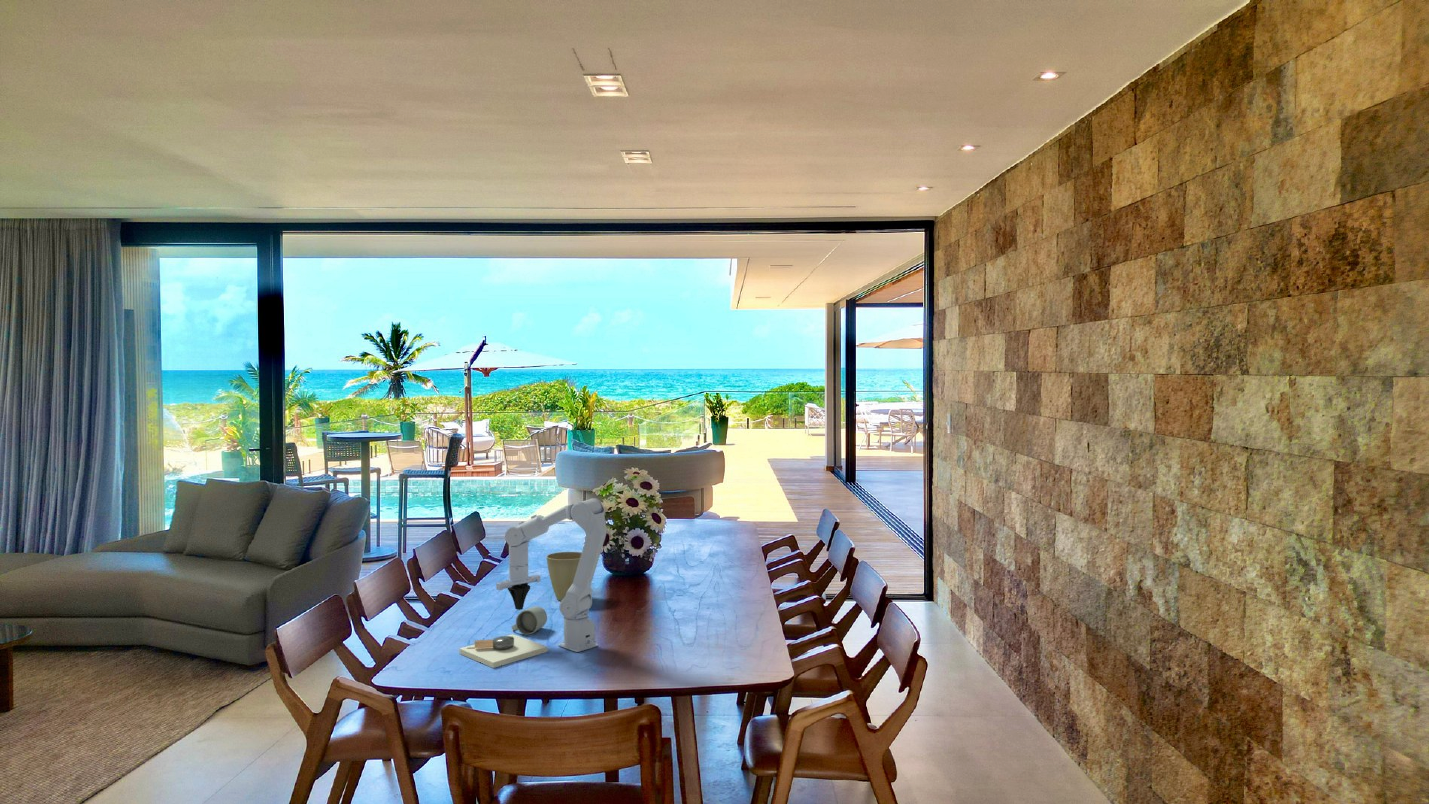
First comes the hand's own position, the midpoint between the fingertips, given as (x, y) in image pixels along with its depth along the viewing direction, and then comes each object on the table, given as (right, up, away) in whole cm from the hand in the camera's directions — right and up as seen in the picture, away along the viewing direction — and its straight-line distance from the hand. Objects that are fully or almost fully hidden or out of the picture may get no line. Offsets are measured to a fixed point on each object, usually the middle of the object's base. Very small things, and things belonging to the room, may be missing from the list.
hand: (519, 609), depth 238 cm
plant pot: (+6, -9, +48) cm, 49 cm away
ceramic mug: (+1, -10, +9) cm, 13 cm away
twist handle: (-4, -8, -12) cm, 15 cm away
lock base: (-2, -10, -12) cm, 15 cm away
